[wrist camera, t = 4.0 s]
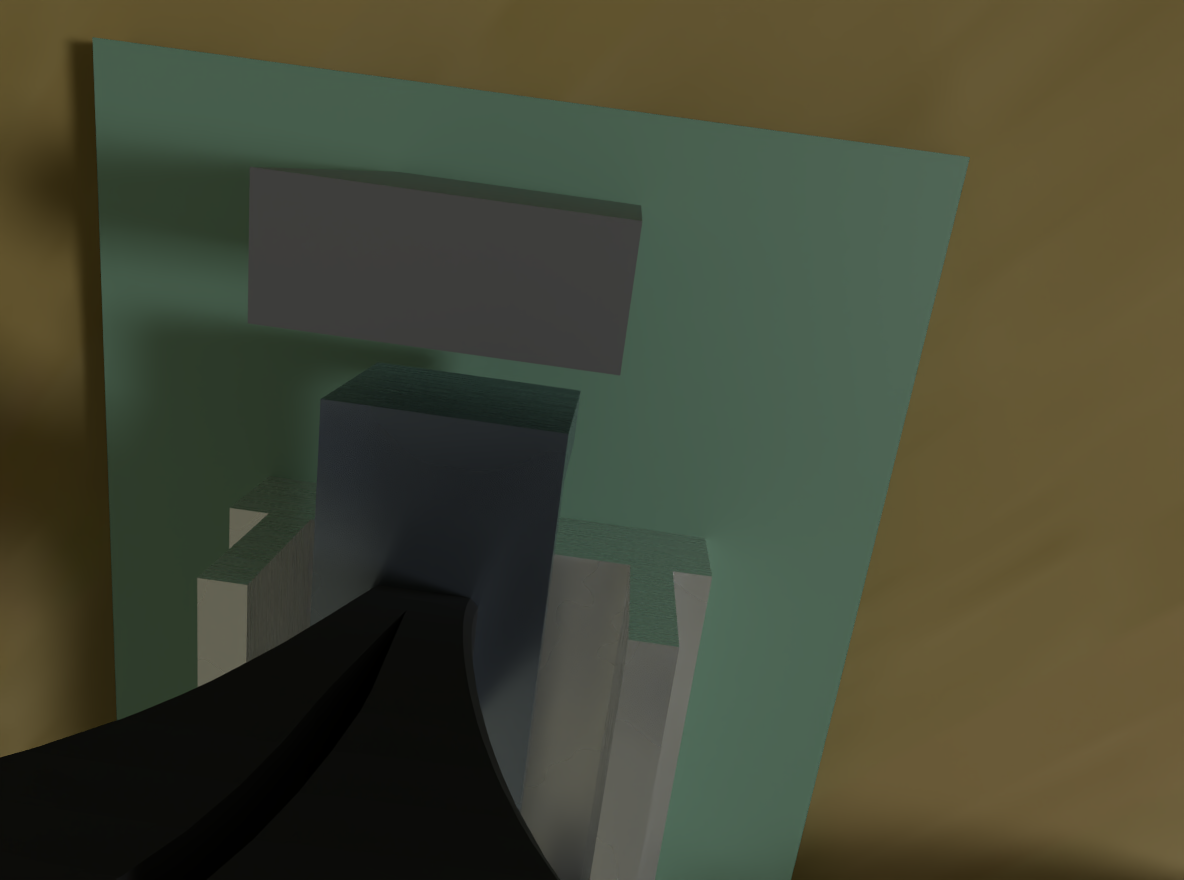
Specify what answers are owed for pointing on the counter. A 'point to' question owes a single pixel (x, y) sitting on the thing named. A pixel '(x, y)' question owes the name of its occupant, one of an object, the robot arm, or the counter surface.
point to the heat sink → (566, 678)
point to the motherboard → (541, 374)
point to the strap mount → (443, 265)
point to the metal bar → (450, 516)
